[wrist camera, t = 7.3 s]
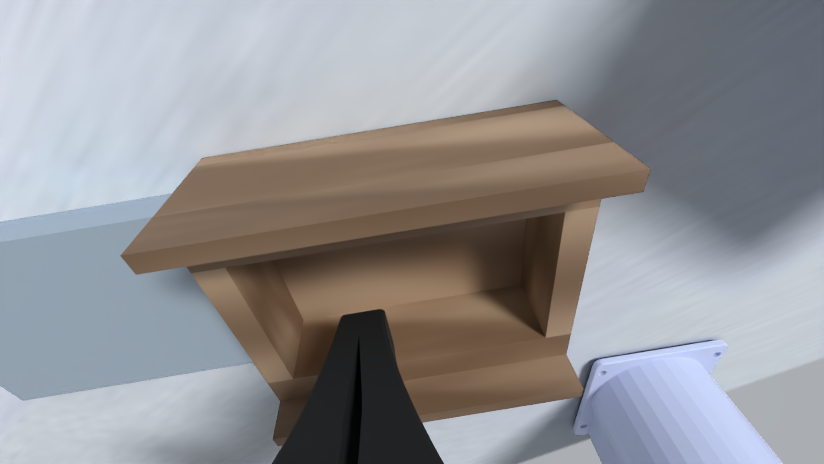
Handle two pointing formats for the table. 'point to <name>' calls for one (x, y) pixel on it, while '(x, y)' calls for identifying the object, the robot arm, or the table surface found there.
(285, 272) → the brown wooden box
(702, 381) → the robot arm
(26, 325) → the cover plate
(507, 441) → the table surface
